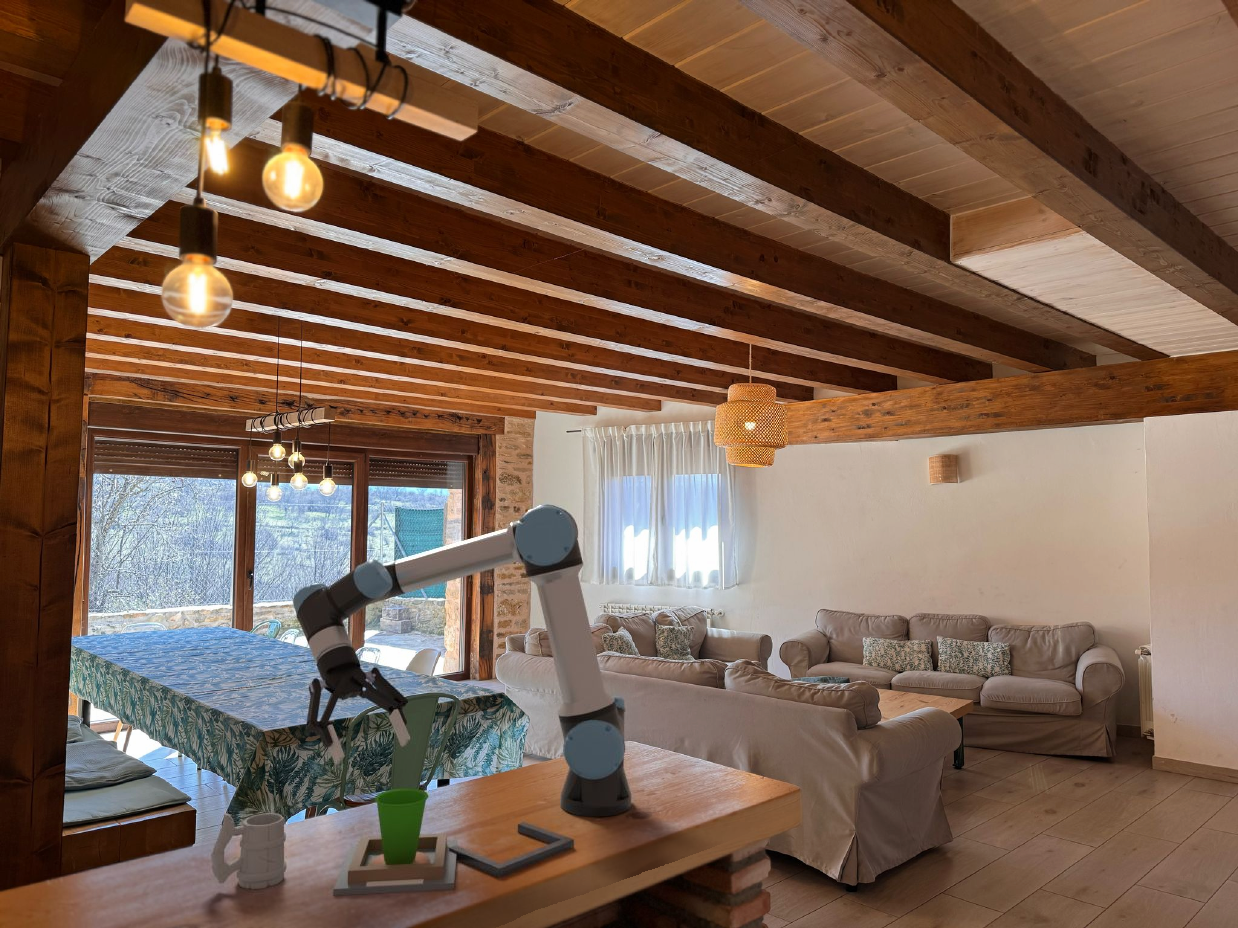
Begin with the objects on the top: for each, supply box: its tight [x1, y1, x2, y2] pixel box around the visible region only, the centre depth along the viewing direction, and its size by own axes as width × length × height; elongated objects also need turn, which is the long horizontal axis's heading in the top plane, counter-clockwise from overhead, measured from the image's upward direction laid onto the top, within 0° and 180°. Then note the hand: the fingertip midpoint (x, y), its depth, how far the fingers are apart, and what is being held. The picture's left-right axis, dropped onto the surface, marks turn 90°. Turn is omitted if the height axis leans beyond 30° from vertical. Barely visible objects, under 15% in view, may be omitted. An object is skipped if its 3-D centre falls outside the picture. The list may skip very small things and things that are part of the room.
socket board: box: [332, 832, 458, 896], centre depth 147 cm, size 19×19×3 cm
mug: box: [210, 812, 288, 890], centre depth 141 cm, size 8×12×12 cm, turn 131°
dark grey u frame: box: [449, 821, 575, 878], centre depth 156 cm, size 14×18×2 cm
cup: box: [374, 787, 429, 865], centre depth 148 cm, size 9×9×11 cm
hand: (374, 751), depth 157 cm, fingers open, 13 cm apart
